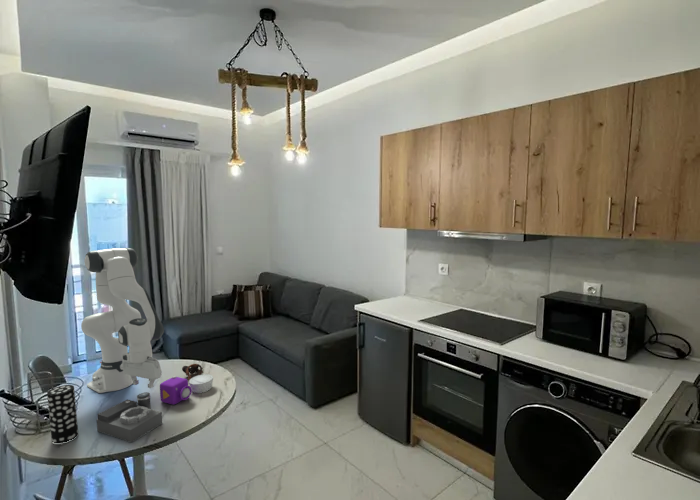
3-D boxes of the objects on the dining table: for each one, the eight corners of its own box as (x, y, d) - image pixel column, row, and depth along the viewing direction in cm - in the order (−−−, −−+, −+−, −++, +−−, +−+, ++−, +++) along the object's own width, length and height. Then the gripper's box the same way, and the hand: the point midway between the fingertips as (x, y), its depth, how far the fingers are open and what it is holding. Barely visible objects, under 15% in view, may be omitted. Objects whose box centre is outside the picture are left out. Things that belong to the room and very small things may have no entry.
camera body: (97, 431, 151) (96, 413, 151) (129, 413, 164) (128, 397, 163) (131, 442, 144) (130, 423, 143) (162, 423, 156) (161, 406, 156)
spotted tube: (48, 447, 141) (43, 396, 139) (55, 435, 149) (51, 387, 147) (75, 441, 145) (70, 392, 143) (80, 430, 152) (76, 383, 150)
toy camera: (183, 407, 169) (182, 386, 168) (157, 404, 172) (155, 384, 171) (197, 396, 180) (196, 376, 179) (172, 393, 183) (171, 374, 182)
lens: (135, 411, 166) (134, 396, 166) (145, 406, 171) (144, 391, 170) (143, 413, 164) (142, 398, 164) (153, 408, 169) (152, 392, 168)
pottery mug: (207, 373, 206) (206, 364, 201) (198, 387, 198) (197, 378, 194) (186, 367, 207) (185, 358, 202) (176, 381, 199) (175, 372, 194)
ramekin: (185, 394, 181) (185, 384, 181) (194, 384, 192) (194, 374, 192) (209, 394, 182) (208, 383, 181) (216, 383, 193) (216, 374, 192)
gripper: (163, 355, 164) (166, 386, 165) (131, 350, 172) (134, 379, 173) (151, 361, 158) (153, 392, 159) (118, 355, 166) (121, 385, 167)
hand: (143, 385), depth 166 cm, fingers open, 8 cm apart
